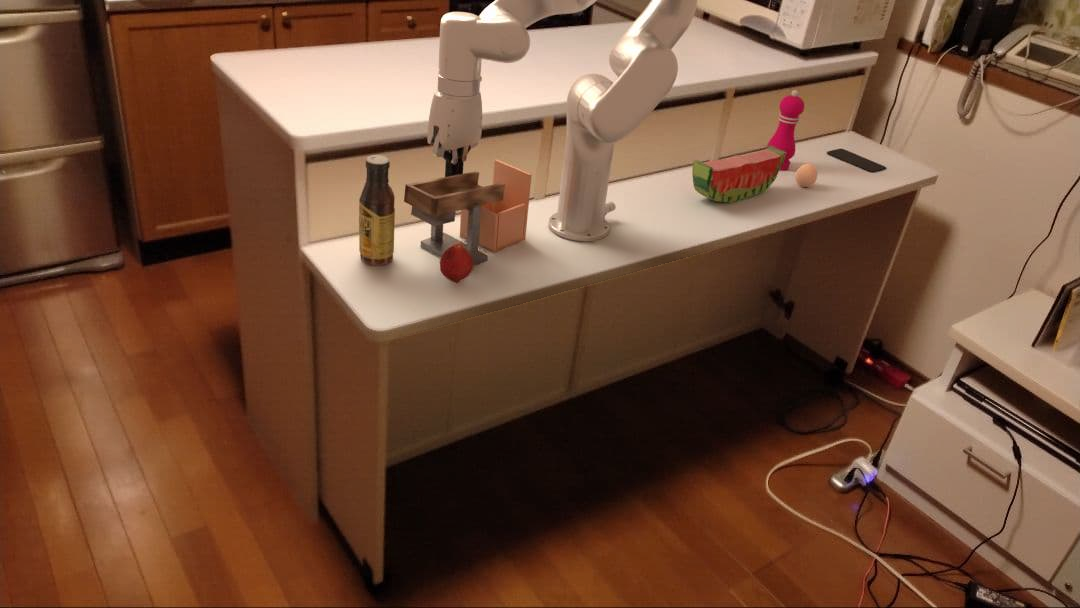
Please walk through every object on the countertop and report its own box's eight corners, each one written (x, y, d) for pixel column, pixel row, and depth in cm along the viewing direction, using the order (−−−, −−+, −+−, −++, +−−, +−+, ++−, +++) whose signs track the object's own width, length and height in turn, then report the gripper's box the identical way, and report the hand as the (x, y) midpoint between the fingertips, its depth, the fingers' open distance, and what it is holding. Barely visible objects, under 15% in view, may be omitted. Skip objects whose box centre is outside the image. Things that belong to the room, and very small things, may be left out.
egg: (809, 182, 208) (815, 160, 205) (817, 191, 204) (823, 168, 201) (789, 181, 208) (795, 159, 205) (797, 190, 203) (803, 167, 200)
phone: (872, 171, 218) (825, 151, 228) (871, 174, 219) (824, 154, 229) (888, 167, 222) (841, 147, 232) (887, 170, 223) (840, 150, 233)
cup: (492, 223, 171) (496, 159, 164) (525, 239, 166) (531, 174, 159) (459, 236, 165) (463, 169, 158) (493, 253, 160) (498, 185, 153)
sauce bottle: (355, 253, 155) (353, 152, 145) (389, 249, 157) (389, 149, 147) (364, 270, 150) (362, 166, 140) (398, 266, 152) (399, 163, 142)
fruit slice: (759, 183, 205) (768, 144, 200) (778, 192, 201) (789, 153, 196) (683, 201, 191) (691, 159, 186) (702, 211, 187) (711, 170, 181)
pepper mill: (795, 171, 214) (816, 94, 204) (770, 171, 212) (790, 94, 202) (781, 160, 220) (801, 85, 210) (757, 160, 218) (775, 85, 208)
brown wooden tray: (458, 191, 164) (461, 164, 161) (501, 212, 158) (505, 184, 155) (388, 206, 151) (390, 177, 149) (432, 229, 145) (435, 199, 142)
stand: (443, 237, 163) (445, 182, 157) (487, 260, 157) (491, 203, 151) (420, 246, 159) (422, 189, 153) (464, 270, 153) (467, 212, 147)
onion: (449, 293, 146) (451, 252, 142) (433, 278, 149) (434, 238, 145) (477, 285, 149) (480, 246, 145) (461, 271, 153) (463, 232, 149)
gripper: (473, 74, 157) (467, 165, 166) (413, 86, 147) (410, 183, 156) (502, 84, 153) (494, 178, 162) (442, 97, 143) (438, 196, 152)
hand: (453, 180), depth 159 cm, fingers closed
